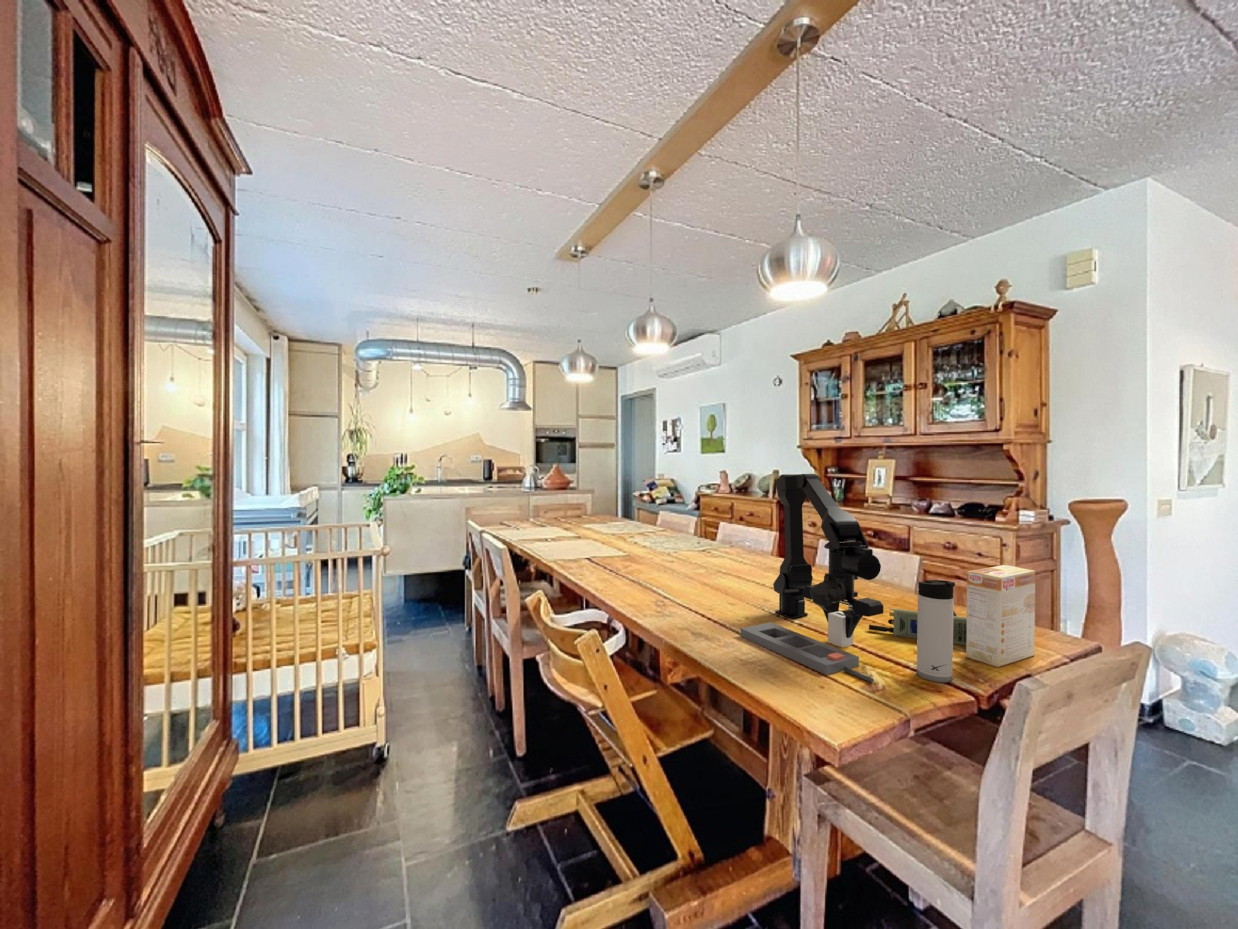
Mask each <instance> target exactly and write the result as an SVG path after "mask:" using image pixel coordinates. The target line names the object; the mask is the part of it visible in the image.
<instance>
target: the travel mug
mask: <svg viewBox="0 0 1238 929" xmlns="http://www.w3.org/2000/svg"><path fill="white" fill-rule="evenodd" d="M917 586H918V592H917V596H918V597H917V612H918V622H917V639H916V642H917V643H916V674H917V675H918V676H919V677H920V678H922V679H924V680H927V681H930V682H935V683H940V684H941V683H949V682H952V680H953V668H954V666H953V664H954V663H953V662H954V661H953V660H954V659H953V658H954V652H953V651H954V644H953V610H955V609H954V602H955V601H954V587H956V582H954V581H951V580H950V581H949V580H941V579H930V580H929V579H928V580H924V581H918V585H917Z"/></svg>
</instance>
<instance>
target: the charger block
mask: <svg viewBox="0 0 1238 929" xmlns="http://www.w3.org/2000/svg"><path fill="white" fill-rule="evenodd" d="M827 643H829V644H831V643H832V645H835V646H837V647H839V648H846V647H849V646H853V645H854V633H853V634H852V635H851V637H850V638H846V617H845V615H844V613H843V612H842V611H841V610H839V611H837V612H832V613H828V622H827Z"/></svg>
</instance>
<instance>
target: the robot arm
mask: <svg viewBox="0 0 1238 929" xmlns="http://www.w3.org/2000/svg"><path fill="white" fill-rule="evenodd" d="M775 487H776V494H777V498H778V499H779V501H780V502H781V504H782V505H783V513H784V514H783V515H784V517H783V518H784V520H783V521H784V522H783V523H784V549H785V551H784V552H785V553H784V554H785V556H784V559H783V560H782V562H781V563H780V566H779V575H778V576H777V577H776V579H775V580H774V582H773V583H772V584H773V591H774V592H775V593H777V594H779V597H778V598H779V599H778V601H779V605H778V609H777V610H775V611H774V612H775V613H776V614H778V615H781V616H784V617H787V618H790V619H795V618H801V617H806V616H807V617H808V616H809V614H808V612H806V600H805V599H807V600H812V603H814V604H815V605H817V606H818V607H819V608H821V609H822V611H823V613H824V616H825V619H826V621H827V623H828V613H832V612H837V611H840V604H842V605H846V606H848V607H847V609H845V610H842V611H841V612H843V613H844V615H845V617H846V638H850V637H851V635H852V634H853V635H854V631H855V630H856V629H857V626H858V624H859V622H860V620H861V619H862V618H863V617H867V618H868V617H869V618H870V617H874V616H877V615H883V614H884V604H883V603H882V602H881V601H880V600H878V599H874V598H870V597H863V598H858V599H857V598H856V597H858V596H859V594H858V591H855V581H856V580H859V578H860V579H861V580H862V579H863V580H865V581H871V580H874V579H876V578H877V577H878V576H879V575H880V572H881V568H882V567H881V566H882V565H881V562H880V560H879V558H878V557H877V556H875V555H874V553H873V552H874V551H873V549H872V548H869V545H868V539H866V536H865V535H864V533H863V530H862V528H861V526H860V523H859V522H858V520H857V519H856V518H855V517H854V516H853V515H852V514H851V513H850V512H848V511H846V510H844V509H841V508H840V507H839V505H838V504H837V503H836V501H835V500H834V499H833V497H832V496H831V494H830V493H829V491H828V490H827V488H826V487H825V486H824V484H823V483H822V482H821V478H820V476H819V475H818V474H816V473H800V474H796V473H795V474H791V473H789V474H787V473H785V474H780V475H779V477H778V478H777V479H776V480H775ZM807 498H808V500H809V502H810V504H812V507H814V509H815V512H817V514H818V516H819V517H820V519H821V525H820V528H821V530H822V532H823V534H824V537H825V538H826V540H827V542H826V543H825V544H824V545H823V547H824V549H826V550H827V549H828V572H826V573H824V576H823V581H821V582H819V583H817V584H813V580H814V578H813V574H812V573H813V566H812V564H809V563H808V562H807V560H806V558H805V549H804V546H805V545H804V520H803V515H804V514H803V505H804V503H805V501H806V500H807Z"/></svg>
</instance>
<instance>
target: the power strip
mask: <svg viewBox="0 0 1238 929" xmlns="http://www.w3.org/2000/svg"><path fill="white" fill-rule="evenodd" d="M740 637H741V638H743V639H746V640H748V641H750V642H752V643H754V644H757V645H759V646H761V647H764V648H766V649H768V650H770V651H773V652H774V653H777V654H779V655H781V656H783V657H786V658H787V659H790V660H792V661H795V662H796V663H799V664H801V665H803V666H805V667H808V668H810V669H812V670H814V671H816V672H819V673H821V674H823V675H825V676H829V675H832V674H835V673H839V672H842V671H843V672H845V673H847V674H850V675H852V676H855V677H857V678H859V679H861V680H865V681H866V682H869V683H874V678H873V677H872V676H870V675H867V674H864V673H862V672H860V671H858V670H855V669H852V668H856V667H859V666H860V664H859V663H860V656H859V655H855V654H853V653H851V652H848V651H845V650H842V649H840V648H838V647H835V646H832V645H830V644H827V643H825V642H822V641H820V640H816V639H814V638H811V637H809V636H807V635H805V634H802V633H799V632H796V631H794V630H793V629H792V630H791V629H788V628H786V627H784V626H781V625H778V624H776V623H773V622H771V621H770V622H766V623H765V622H764V623H759V624H757V625H756V624H755V625H751V626H744V627H741V628H740Z"/></svg>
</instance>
